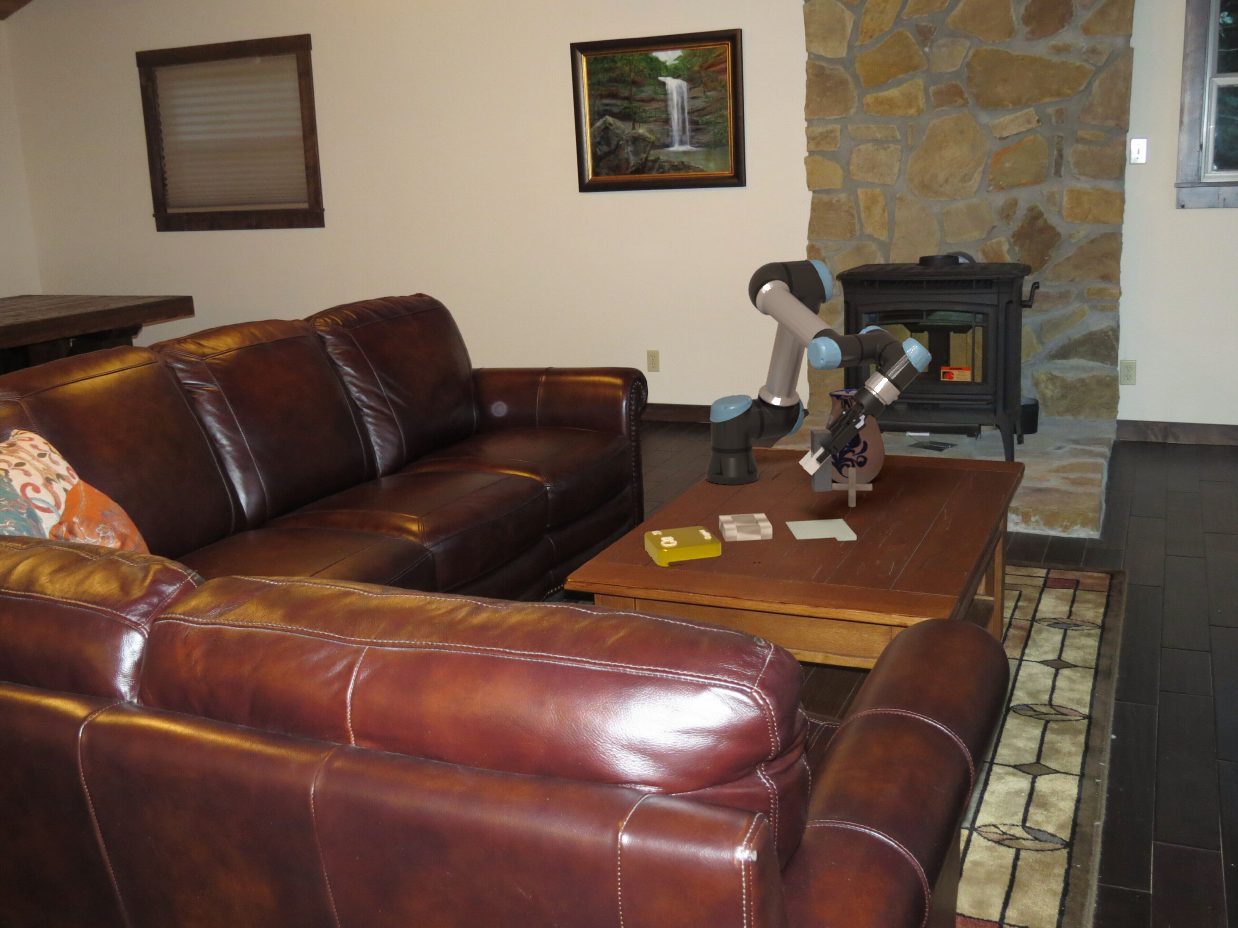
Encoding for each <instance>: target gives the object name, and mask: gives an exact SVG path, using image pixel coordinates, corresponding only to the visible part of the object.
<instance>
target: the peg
mask: <svg viewBox="0 0 1238 928" xmlns="http://www.w3.org/2000/svg"><path fill="white" fill-rule="evenodd" d="M831 439H832V433H831V432H830V431H829V430H828V429H823V428H822V429H811V430H810V450H811V458H812V457H813V456H814V455H815V454H816V453H817V452H818V451H819V450H820V449H821V448H822V444H825V445H827V443H828V442H829V441H830V440H831ZM830 455H831V454H830ZM832 481H833V479H832V455H831V456H830V457H829V458H828V459H827V460H826V461H825V462H824V463H823V464H822V465H821V466H820V467H819V468H818V469H817V470H816V471H815V472H814V473H813V474H812V475H811V474H810V488H811V489H812V491H813V492H815V493H818V492H832V491H833V490H832Z"/></svg>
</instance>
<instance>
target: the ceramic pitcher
mask: <svg viewBox="0 0 1238 928" xmlns="http://www.w3.org/2000/svg"><path fill="white" fill-rule="evenodd" d="M859 389H860V388H858V389H857V388H851V389H850V388H849V389H839V390H833V391H830V392H829V393H828V395H829V397H830V398H831V402H832V403H831V410H830V413H829V416H828V418H827V419H828V420H827V423H826V426H825V429H827V427H828V426H829V425H830V424H831V423H832V422H833V421H834V420H835V419H836V418H837V417H838V416H839V415H840V413H841V412H842V411H843V409H844V408H847V409H849V408H851V407H852V406H854V405H855V404H856V401H855V400H854V399H853V395H854V394H855V393H856V392H857V391H858V390H859ZM864 423H865V424H866V427H865V428H863V429H862V430H861V431H860V432H858V433H857V434H856V435H855V436H854V437H853V438H852V439H851V441H850V442H849V443H848V444H847V445H846V446H845V447H844V448H843V449H842V450H841V451H840V452H839V453H838V454H837V455H835V454H833V455H832V481H835V482H837V483H847V484H849V468H856V484H869V483H870V482H871V481H872V480H873V479H875V478H876V477H877V476H878V474H879V473H880V471H881V470H882V468H883V465H884V464H885V459H886V457H885V456H886V452H885V445H884V440H883V436H882V433H881V430H880V427H879V423H878V421H877V418H873V417H872V416H871V415H869V416H868V417H867V419H866V420H865V422H864Z"/></svg>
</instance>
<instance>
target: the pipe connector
mask: <svg viewBox="0 0 1238 928" xmlns="http://www.w3.org/2000/svg"><path fill="white" fill-rule="evenodd" d="M832 491H848V495H847V496H848V497H847V499H848V507H850V508H855V507H856V501H857V500H856V499H857V495H856V493H857V491H866V492H868V491H869V492H871V491H873V483H864V484H856V468H849V484H847V483H839V482H837V483H834V482H833V483H832Z"/></svg>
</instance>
